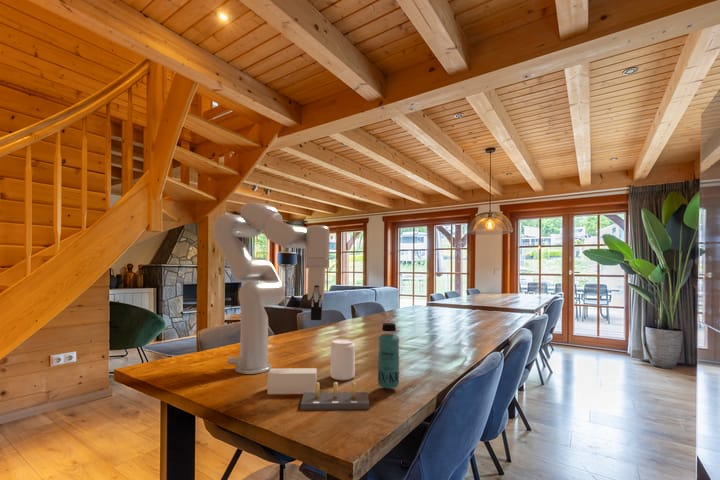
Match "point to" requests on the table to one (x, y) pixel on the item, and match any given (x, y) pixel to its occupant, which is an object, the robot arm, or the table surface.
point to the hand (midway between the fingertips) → (316, 317)
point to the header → (335, 399)
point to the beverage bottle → (388, 358)
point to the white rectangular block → (292, 381)
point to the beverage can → (342, 359)
